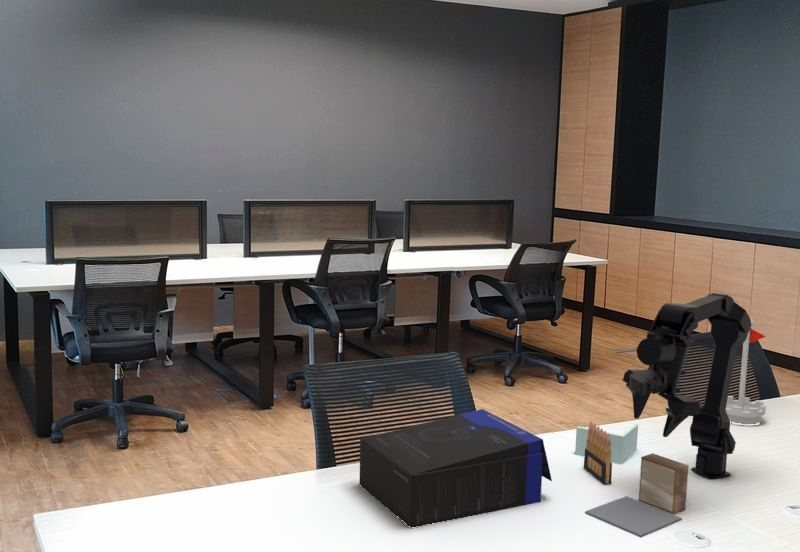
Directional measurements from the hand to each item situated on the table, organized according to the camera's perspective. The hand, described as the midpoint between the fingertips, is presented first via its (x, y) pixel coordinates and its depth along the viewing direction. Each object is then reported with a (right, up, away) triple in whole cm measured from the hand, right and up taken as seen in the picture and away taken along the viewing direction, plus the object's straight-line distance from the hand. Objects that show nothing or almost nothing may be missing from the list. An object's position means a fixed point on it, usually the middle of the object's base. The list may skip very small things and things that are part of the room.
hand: (650, 427), depth 190 cm
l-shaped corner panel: (-3, -12, +28) cm, 31 cm away
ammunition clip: (-9, -14, +12) cm, 20 cm away
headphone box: (-43, -15, 0) cm, 46 cm away
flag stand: (+43, -8, +58) cm, 72 cm away
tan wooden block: (+1, -16, -4) cm, 17 cm away
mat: (-7, -17, -11) cm, 21 cm away
